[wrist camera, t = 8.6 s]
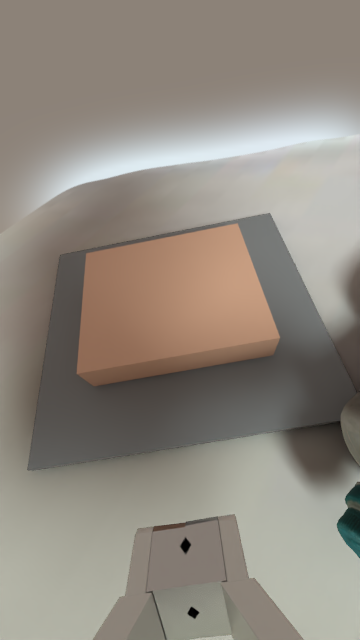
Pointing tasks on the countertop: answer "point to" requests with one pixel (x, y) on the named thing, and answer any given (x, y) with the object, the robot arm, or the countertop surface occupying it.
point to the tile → (172, 307)
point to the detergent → (356, 522)
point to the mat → (189, 374)
